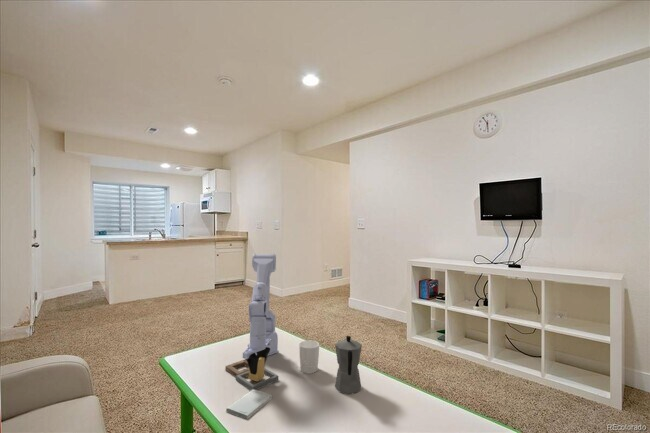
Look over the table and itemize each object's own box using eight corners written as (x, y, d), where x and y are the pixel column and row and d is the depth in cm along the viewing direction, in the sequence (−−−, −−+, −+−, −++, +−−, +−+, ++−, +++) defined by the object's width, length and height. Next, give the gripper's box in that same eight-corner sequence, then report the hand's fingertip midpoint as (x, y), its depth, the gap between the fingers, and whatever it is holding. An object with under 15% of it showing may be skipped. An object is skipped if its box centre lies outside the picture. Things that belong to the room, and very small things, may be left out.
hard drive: (247, 415, 92) (272, 394, 103) (226, 407, 95) (252, 388, 106) (247, 421, 92) (272, 399, 103) (226, 413, 95) (252, 393, 106)
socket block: (245, 362, 128) (245, 359, 128) (258, 370, 122) (258, 366, 122) (225, 370, 121) (225, 366, 121) (237, 378, 115) (237, 374, 115)
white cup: (295, 372, 120) (295, 346, 121) (304, 363, 128) (304, 339, 128) (314, 376, 118) (314, 349, 118) (322, 367, 125) (322, 342, 125)
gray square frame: (261, 369, 122) (261, 365, 122) (278, 379, 114) (278, 375, 114) (235, 379, 114) (235, 375, 114) (252, 391, 106) (252, 387, 106)
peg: (255, 374, 117) (255, 355, 117) (264, 376, 115) (264, 357, 115) (248, 379, 113) (248, 359, 113) (257, 381, 112) (257, 361, 112)
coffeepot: (334, 377, 116) (334, 329, 117) (359, 378, 116) (360, 329, 117) (335, 401, 101) (335, 345, 101) (364, 402, 101) (364, 346, 101)
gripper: (260, 326, 123) (260, 360, 122) (235, 338, 109) (235, 377, 109) (275, 328, 120) (275, 364, 120) (252, 341, 107) (251, 381, 106)
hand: (257, 370), depth 114 cm, fingers closed on peg, 4 cm apart
